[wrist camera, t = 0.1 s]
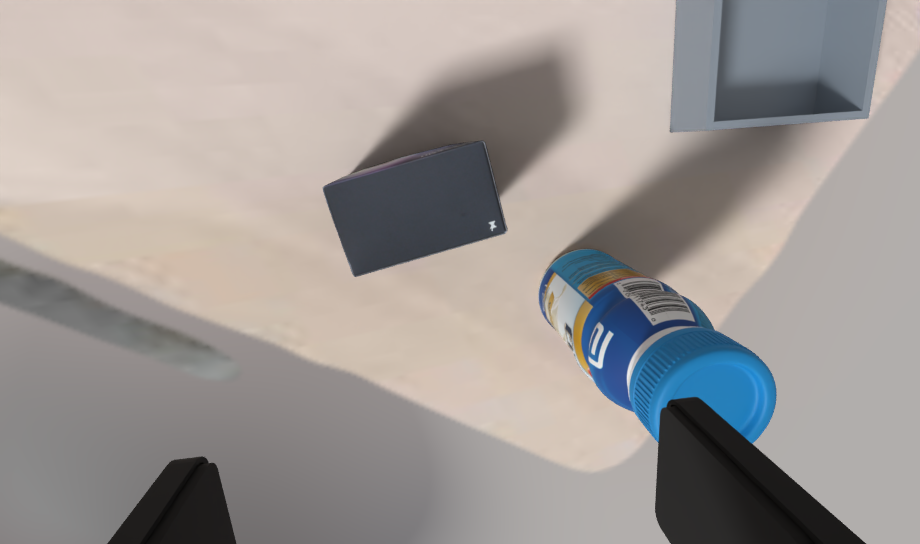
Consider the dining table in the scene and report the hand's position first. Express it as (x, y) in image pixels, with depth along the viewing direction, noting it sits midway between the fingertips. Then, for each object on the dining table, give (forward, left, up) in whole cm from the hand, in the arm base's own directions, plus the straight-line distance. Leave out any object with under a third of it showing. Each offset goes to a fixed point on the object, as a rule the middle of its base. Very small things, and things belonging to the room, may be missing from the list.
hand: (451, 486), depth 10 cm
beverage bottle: (+7, +14, -31) cm, 35 cm away
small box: (-3, 0, -32) cm, 32 cm away
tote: (-16, +29, -31) cm, 45 cm away
